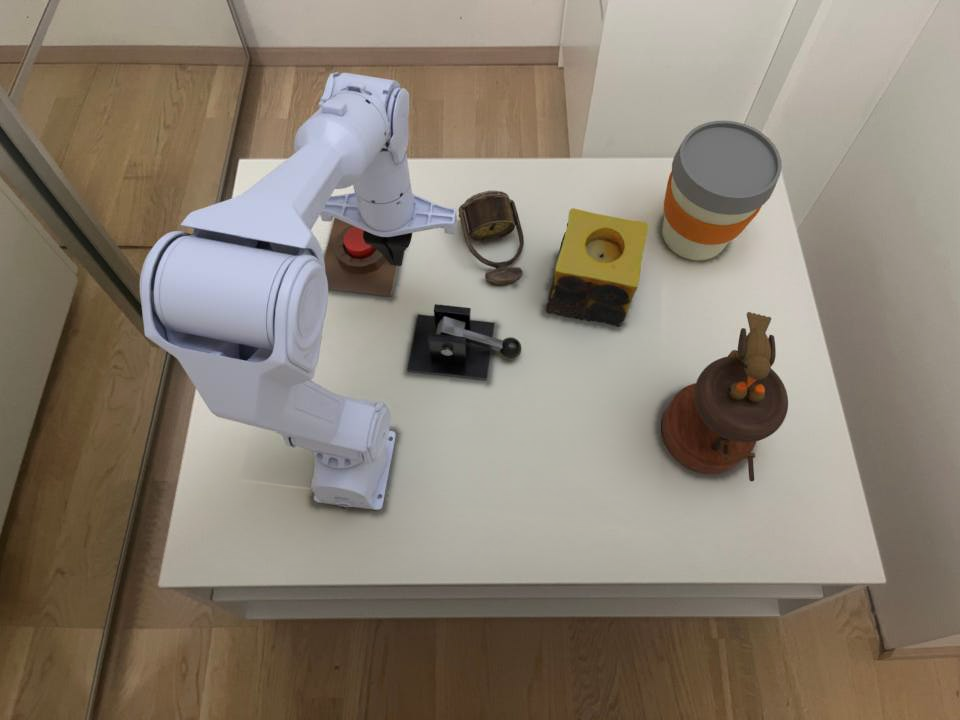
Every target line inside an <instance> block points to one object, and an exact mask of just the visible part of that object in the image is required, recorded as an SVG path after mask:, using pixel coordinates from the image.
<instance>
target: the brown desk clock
mask: <svg viewBox="0 0 960 720" xmlns="http://www.w3.org/2000/svg"><path fill="white" fill-rule="evenodd" d="M458 218H459V220H460V223H461V228H462V231H463V232H462V233H463V236H464V241H465V243H466V246H467V248H468V250H469V252H470V253H471V255H473V257H474V258H476V259H477V261H479V262H480V263H482V264H483V265H486V266H487V267H492V268H495V269H494V270H490V271H486V272H485V273H484V278H485V279H486V280H487V281H489V282H491V283H493V284H497V285H508V284H511V283H515V282H516V281H517V280H518V279H520V278H521V277H522V275H523V269H522V268H521V267H519V266H516V267H515V266H513V267H509V265H512V264H514V263H515V262H516V261H517V260H518V258H519V257H520V255H521V254H522V253H523V248H524V244H525V240H524V239H525V238H524V232H523V229H522V224H521V221H520V217H519V213H518V210H517V206H516V203H515V201H514V200H513V199H511V198H510V196H509V195H508V194H507V193H506V192H504V191H502V190H501V191H500V190H487V191H482V192H478V193H476V194H473V195H472V196H471V197H469V198H467V199H466V200H465V202H464V203H462V204H461V205H460V206H459V207H458ZM515 229H516V233H517V237H518V240H519V245H518V249H517V251H516V253H515V255H514V256H513V257H511V258H510V259H508V260H505V261H499V262H498V261H492V260H489V259H487V258H485V257H484V256H482V255H481V254H480V253H479V252H478V251H477V250H476V249H475V247H474V246H473V245H474V244H473V243H472V240H473V241H476V242H483V241H485V240H487V239H489V238H491V237H500V238H502V237H505V236H507V235H509V234H510V233H512V232H513V231H514V230H515Z"/></svg>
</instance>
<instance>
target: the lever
mask: <svg viewBox="0 0 960 720" xmlns="http://www.w3.org/2000/svg"><path fill="white" fill-rule="evenodd" d="M436 334H442V335H451V336H460V337H466V342H470V343H473V344H477V345H480V346H483V347H487V348H490V349H491V350H494V351H497V352H499V354H500V355H501V357H502V358H504V359H505V360H508V361H512V360H515V359H517V358H518V357H519V356H520V355H521V354H522V349H523V348H522V347H523V346H522V344H521V342H520V341H519V340H518V339H517V338H516V337H510V336H509V337H506V338H504V339H500V338H496V337H494V336H493V337H489V336H486V335H483V334H479V333H476V332H472V331H469V330H466V329H465V322H462V321H459V320H456V319H452V318H449V317H446V316H444V317H443V318H442V319H441V321H440V322H439V323H438V326H437V332H436Z"/></svg>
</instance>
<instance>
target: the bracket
mask: <svg viewBox="0 0 960 720" xmlns="http://www.w3.org/2000/svg"><path fill="white" fill-rule="evenodd" d="M444 316H446V317H449V318H452V319H456V320H459V321H462V322H465V329H466V330H469V331H472V332H476V333H479V334H483V335H486V336H489V337H493V338H494V330H495V322H491V321H482V320H475V319H474V320H473V319H472V309H471V307H465V306H464V307H463V306H455V305H446V304H438V303H437V304H436V303H435V304H434V306H433V315H427V314H417V318H416V323H415V328H414V334H413V338H412V344H411V349H410V356H409V360H408V365H407V372H408V373H415V374H424V375H432V376H442V377H450V378H460V379H467V380H476V381H486V382H487V381H488V377H489V368H490V362H491V361H490V360H491V354H492V349H490V348H487V347H483V346H480V345H477V344H473V343H470V342H466V337H460V336H451V335H442V334H436V332H437V326H438V323H439V322H440V321H441V319H442V318H443V317H444Z"/></svg>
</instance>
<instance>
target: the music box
mask: <svg viewBox="0 0 960 720" xmlns="http://www.w3.org/2000/svg"><path fill="white" fill-rule="evenodd" d="M746 318H747V324H748V327H749V332H748V333H747V329H746V328H744V327H742V328H741V329H740V330H739V331H740V332H739V337H738V343H737V349H733V350H731V351H730V352H729V354H728V355H727V356H724V357H721V358H718V359H715V360H714V361H712V362H711V363H709V364H708V365H707V366H706V367H704V369H703V370H702V371H701V372H700V374H698V375H699V376H698V377H697V379H696V381H695V383H692V384H689V385H687V386H685V387H684V388H682V389H681V390H679V391H678V392H677V393H676V394H675V395H674V396H673V398H672V400H671V401H670V402H669V403H668V405H667V407H666V408H665V410H664V412H663V415H662V417H661V418H662V419H661V425H660V429H661V431H660V432H661V436H662V441H663V442H664V445H665V447H666V449H667V450H668V452H669V453H670V454H671V455H672V457H673V458H674V459H675V460H676V461H677V462H678V463H680V464H681V465H682V466H683V467H685V468H687V469H689V470H692V471H694V472H697V473H700V474H706V475H707V474H708V475H715V474H722V473H725V472H728V471H730V470H732V469H733V468H735V467H736V466H738V465H739V464H740V463H741V462H742V461H744V460H745V459H747V466H748V480H749V481H750V482H754V481H755V469H754V458H756V453H755V452H752V451H753V450H754V448H755V446H756V444H757V442H759V441H762V440H764V439H767V438H769V437H771V436H772V435H773V434H774V433H776V432H777V431H778V430H779V429H780V428H781V426H782V425H783V424H784V421H785V419H786V417H787V414H788V410H789V397H788V392H787V389H786V387H785V384H784V383H783V380H782V379H781V377H780V376H779V375H778V374H777V373H776V371H774V370H773V368H772V367H773V365H774V364H775V360H776V356H777V355H776V354H777V353H776V352H777V351H776V350H777V349H776V340H775V336H774V334H769V335H767V333H766V332H767V330H768V329H769V326H770V324H771V321H772V317H771V316H766V315H761V314H760V313H755V312H751V311H747V312H746Z"/></svg>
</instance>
